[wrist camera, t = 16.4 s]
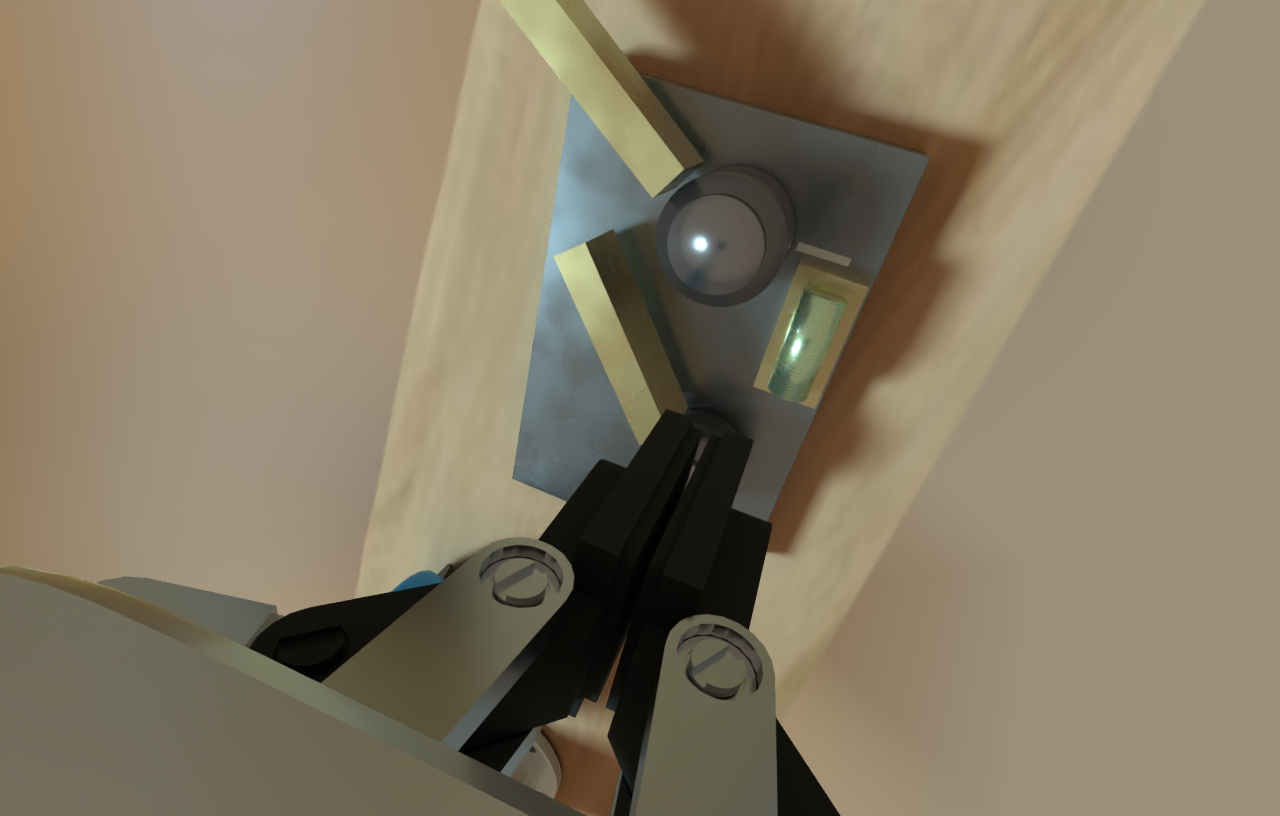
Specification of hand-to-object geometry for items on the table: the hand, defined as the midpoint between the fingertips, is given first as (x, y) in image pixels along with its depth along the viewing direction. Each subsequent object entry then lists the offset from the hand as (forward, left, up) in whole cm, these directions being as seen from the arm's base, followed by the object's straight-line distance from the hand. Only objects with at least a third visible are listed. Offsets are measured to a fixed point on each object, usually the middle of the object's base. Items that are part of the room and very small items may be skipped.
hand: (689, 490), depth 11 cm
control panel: (-3, +5, -17) cm, 18 cm away
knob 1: (+6, +4, -14) cm, 16 cm away
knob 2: (-4, +5, -14) cm, 16 cm away
